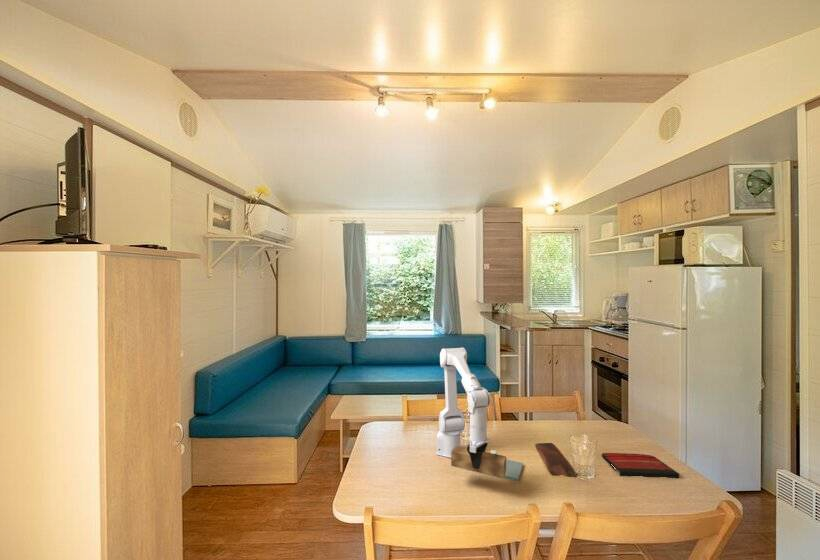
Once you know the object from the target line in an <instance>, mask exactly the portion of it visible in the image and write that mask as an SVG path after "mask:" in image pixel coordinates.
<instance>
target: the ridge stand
mask: <svg viewBox="0 0 820 560" xmlns="http://www.w3.org/2000/svg"><path fill="white" fill-rule="evenodd" d="M489 453H493V454H497V450H494V449H490V452H489ZM523 467H524V463H523V462H520V461H516V460H511V459H507V458H506V473H505V475H504V478H503V479H504V480H505V479H506V480H509V481H513V482H514V481H515V482H519V480H520V477H521V473H522V470H523Z"/></svg>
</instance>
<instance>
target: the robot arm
mask: <svg viewBox="0 0 820 560" xmlns="http://www.w3.org/2000/svg"><path fill="white" fill-rule="evenodd" d="M467 361H468V353H467V350H466V349H465V347H456V348H455V347H454V348H453V347H451V348H450V347H449V348H441V350H440V353H439V364H440V368H443V373H444V375H443V376H444V395H445V401H444V402H445V408H443V409H442V410H440V412H439V415H438V416H439V417H438V428H439V430H438V432H437V434H436V435H437V436H436V453H435V454H436V455H438V456H441V457H445V458H450V459H451V451H452V450H453V449H454V447H455V446H460V447H461V434H463V431H464V430H465V428H466V421H465V415H464V412H463V411H462V410H461V409H460V408H459V407H458V390H457V389H458V386H457V385H458V384H457V371H458V373H459V375H460V376H461V384H462V387H463V388H464V390H465V393H466V395H467V396H466V400H467V406H468V412H469V439H468V440H469V445H467V446H466V448H467V451H468V453H469V455H470V458H471V462H472V466H473V468H476V469H479V467H480V462H481V457H482V454H483V452H486V450H487V447H488V444H489V443H490V442H491V438H488V437H487V435H488V434H487V433H488V432H487V430H488V429H487V428H488V425H487V423H488V421H487V420H488V419H487V418H488V417H487V416H488V411H487V410H488V407H490V405H491V397H490V394H489V391H488V389H487V388H485V387H483V386H482V385H481V383H480V382H479V380H478V378H477V375H475V374H474V373H471V370H470V368H469V365H468V362H467Z"/></svg>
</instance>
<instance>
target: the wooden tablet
mask: <svg viewBox="0 0 820 560" xmlns="http://www.w3.org/2000/svg"><path fill="white" fill-rule="evenodd" d="M534 445H535V450H536V451H537V453H538V454H539V456H540V458H541V460H542V462H543V463H544V466H545V467H546V469H547V471H548V473H549V474H550V475H551V476H552V477H561V476H562V477H563V476H564V477H568V478H577V477H578V474H577V473H576V474H577V475H576V474H575V472H576V471H575V472H574V470H575V469H574V468H573V466H572V464H570V462H569V460H568V459H567V458H566V457H565V456H564V455H563V453H562V452H561V451H560V449H559V448H558V447H557V446H556V445H555V444H554V443H552V442H541V443H535V444H534ZM576 476H577V477H576Z"/></svg>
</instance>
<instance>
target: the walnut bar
mask: <svg viewBox="0 0 820 560" xmlns="http://www.w3.org/2000/svg"><path fill="white" fill-rule="evenodd" d="M506 459H507V456H506V455H501V454H497V453H496V454H493V453H490V452H487V451H485V452H483V454H482V457H481V462H480V467H479V469H476V468H473V466H472V462H471V458H470V455H469V453H468V451H467V447H465V446H461V445H460V446H455V447H454V449H453V450H452V451H451V458H450V466H451V467H454V468H459V469H463V470H467V471H472V472H475V473H479V474H484V475H487V476H491V477H496V478H499V479H505V478H504V475H505V473H506Z"/></svg>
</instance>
